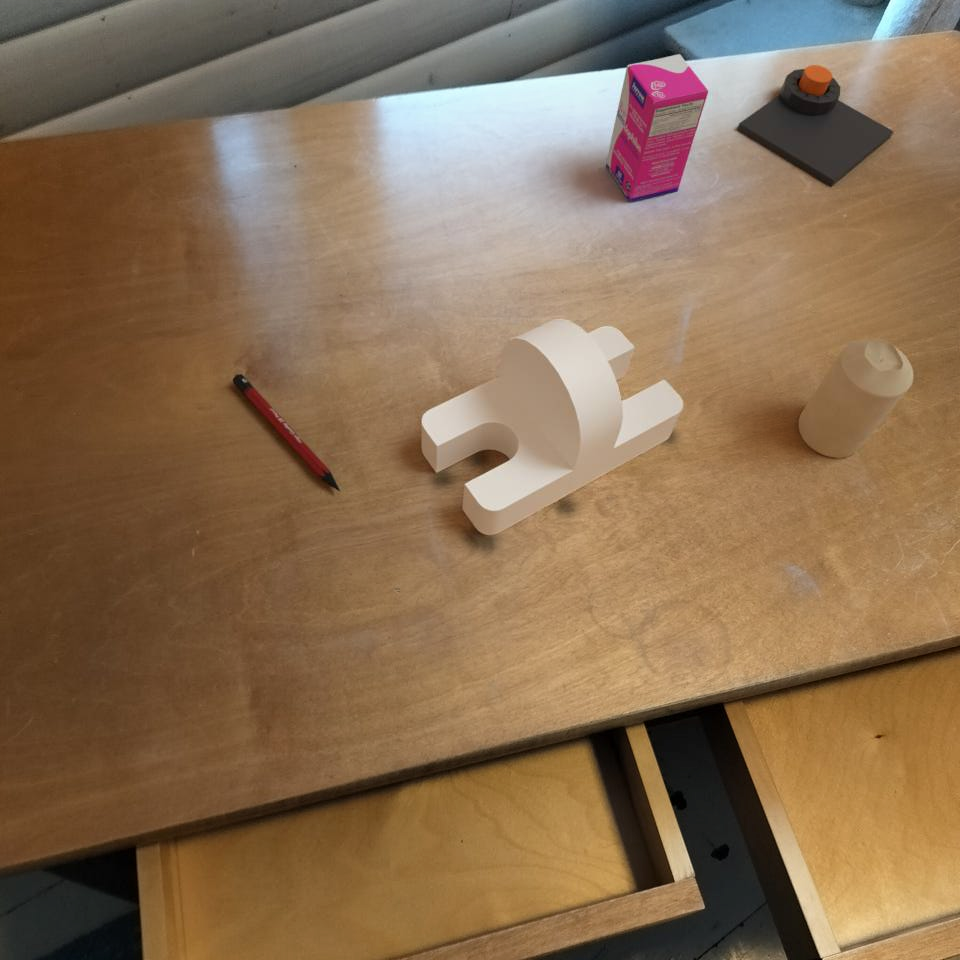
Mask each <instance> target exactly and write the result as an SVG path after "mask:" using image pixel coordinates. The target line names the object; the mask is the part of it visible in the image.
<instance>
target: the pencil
mask: <svg viewBox="0 0 960 960" xmlns="http://www.w3.org/2000/svg"><path fill="white" fill-rule="evenodd" d="M232 383H233V384H234V386H236V387H237V389H238V390H239V391H240V392H241V393H242V394H243V396H245V398H247V400H248V402H250V403H251V405H252V406H253V407H254V408H255V409H256V410H257V411H258V412H259V413H260V414H261V415H262V417H264V419H265V420H266V421H267V422H268V423H269V424H270V425H271V427H273V429H274V430H275V431H276V432H277V433H278V434H279V435H280V436H281V438H283V440H285V442H286V443H287V444H288V445H289V446H290V448H292V450H293V451H294V452H295V453H296V454H297V455H298V456H299V457H300V458H301V460H302V461H303V462H304V463H305V464H306V465H307V466H308V467H309V468H310V470H311V471H312V472H313V473H314V474H315V475H316V476H317V477H318V479H319V480H321V481H322V482H324V483H325V484H327V485H329V486H330V487H331V488H334V489H335V490H336V491H338V492H341V490H340V488H339V486H338V484H337V481H336V480H335V478H334V476H333V474H332V472H331V470H330V469H329V468H328V466H327V465H325V463H324V462H323V461H322V460H321V459H320V458H319V457H318V456H317V454H315V452H313V450H312V449H311V448H310V447H309V446H308V445H307V444H306V443H305V442H304V441H303V439H302V438H301V437H300V436H299V435H298V434H297V433H296V432H295V431H294V429H292V427H290V425H289V424H288V423H287V422H286V421H285V420H284V418H282V416H281V415H280V414H279V413H278V412H277V411H276V410H275V409H274V407H272V406H271V404H270V403H269V402H268V401H267V400H266V399H265V398H264V397H263V396H262V395H261V393H260V392H259V391H258V390H257V389H256V388H255V387H254V386H253V384H252V383H251V382H250V381H248V379H247V378H246V377H245V376H244V374H242V373H239V374H236V375H235V376H234V377H233V378H232Z"/></svg>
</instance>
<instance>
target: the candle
mask: <svg viewBox="0 0 960 960" xmlns="http://www.w3.org/2000/svg"><path fill="white" fill-rule="evenodd" d="M914 377H915V376H914V370H913V367H912V364H911V363H910V361H909V359H908V358H907V356H906V355H905V354H904V353H903V352H902V351H901V349H899V348H897V347H896V346H895V345H893V344H892V343H891V342H889V341H887V340H885V339H884V338H862V339H861V338H860V339H856V340H853V341H850V342H848V343H847V344H846V345H845V346H844V348H843V349H842V350H841V352H840V353H839V355H838V356H837V358H836V359H835V360H834V362H833V364H832V366H831V367H830V369H829V370H828V371H827V373H826V375H825V376H824V377H823V379H822V380H821V382H820V384H819V385H818V387H817V388H816V390H815V391H814V393H813V394H812V395H811V397H810V399H809V400H808V402H807V403H806V405H805V407H803V410H802V411H801V412H800V416H799V417H798V418H799V419H798V423H797V424H798V426H797V427H798V431H799V434H800V436H801V438H802V439H803V441H804V442H805V444H806V445H807V446H808V447H810V449H812V450H813V451H815V452H817V453H818V454H821V455H823V456H825V457H828V458H833V459H834V458H835V459H842V458H847V457H850V456H853V455H855V454H856V453H857V452H858V451H860V450H861V449H862V447H863V446H864V445H865V444H866V443H867V441H868V440H869V439H870V438H871V436H872V435H873V434H874V433H875V431H876V430H877V429H878V428H879V426H880V425H881V424H882V422H883V421H884V420H885V419H886V417H887V416H888V415H889V414H890V413H891V412H892V410H893V409H894V408H895V407H896V406H897V404H898V403H899V402H900V400H901V399H902V398H903V396H904V395H905V394H906V393H907V392H908V390H910V388H911V386H912V385H913V383H914Z"/></svg>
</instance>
